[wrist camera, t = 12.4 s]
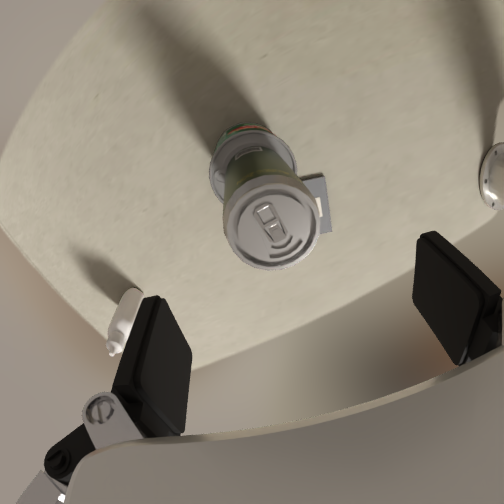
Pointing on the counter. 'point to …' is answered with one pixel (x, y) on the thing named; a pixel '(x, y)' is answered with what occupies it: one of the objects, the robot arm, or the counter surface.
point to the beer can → (268, 211)
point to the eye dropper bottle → (123, 320)
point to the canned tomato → (241, 139)
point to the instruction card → (320, 201)
